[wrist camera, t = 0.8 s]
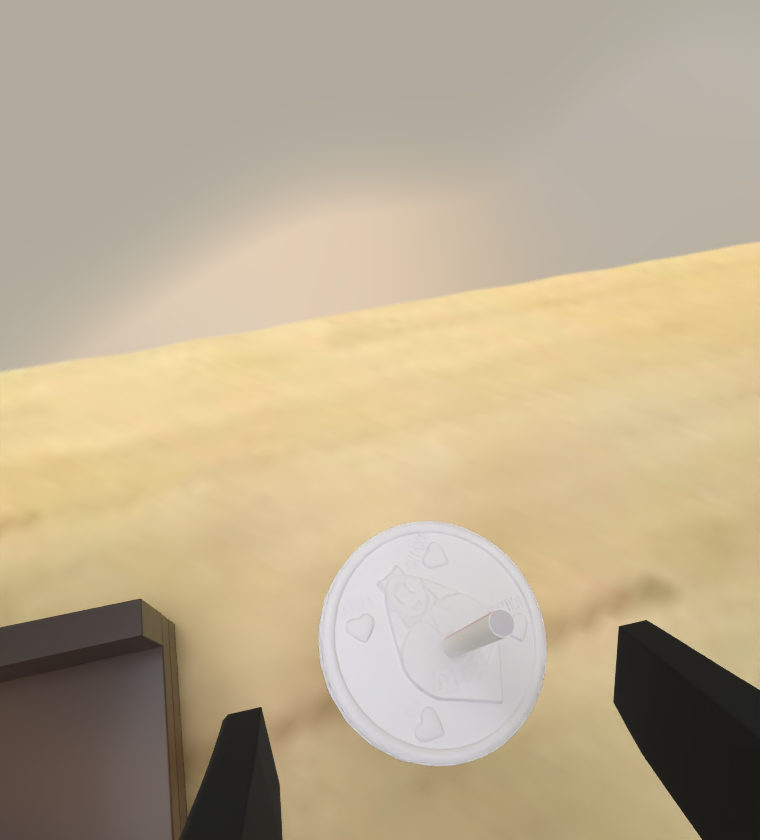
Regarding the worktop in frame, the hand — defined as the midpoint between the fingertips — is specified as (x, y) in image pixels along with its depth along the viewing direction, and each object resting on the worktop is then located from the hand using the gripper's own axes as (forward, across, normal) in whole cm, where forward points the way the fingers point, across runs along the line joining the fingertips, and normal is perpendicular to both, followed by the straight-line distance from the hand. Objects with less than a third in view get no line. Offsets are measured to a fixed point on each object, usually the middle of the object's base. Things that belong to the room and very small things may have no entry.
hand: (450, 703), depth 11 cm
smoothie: (+10, 0, +9) cm, 14 cm away
